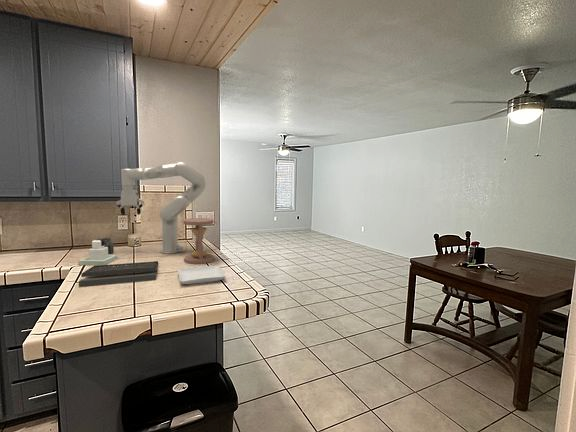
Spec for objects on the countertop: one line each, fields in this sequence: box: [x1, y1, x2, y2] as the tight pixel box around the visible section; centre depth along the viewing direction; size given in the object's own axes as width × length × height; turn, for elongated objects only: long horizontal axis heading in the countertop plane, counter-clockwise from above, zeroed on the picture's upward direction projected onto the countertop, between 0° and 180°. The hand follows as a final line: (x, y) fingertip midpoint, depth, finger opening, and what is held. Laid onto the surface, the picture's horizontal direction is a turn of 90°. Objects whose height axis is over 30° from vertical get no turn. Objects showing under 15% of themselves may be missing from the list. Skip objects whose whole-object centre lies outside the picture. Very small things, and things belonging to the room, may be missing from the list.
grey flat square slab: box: [177, 265, 226, 285], centre depth 150 cm, size 21×21×3 cm
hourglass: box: [182, 217, 215, 265], centre depth 182 cm, size 18×18×25 cm
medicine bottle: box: [88, 238, 109, 260], centre depth 174 cm, size 7×7×12 cm
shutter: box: [78, 260, 159, 288], centre depth 154 cm, size 32×7×31 cm
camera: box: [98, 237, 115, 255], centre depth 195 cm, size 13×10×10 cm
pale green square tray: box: [77, 254, 118, 266], centre depth 174 cm, size 14×14×2 cm
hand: (131, 214), depth 194 cm, fingers open, 9 cm apart
